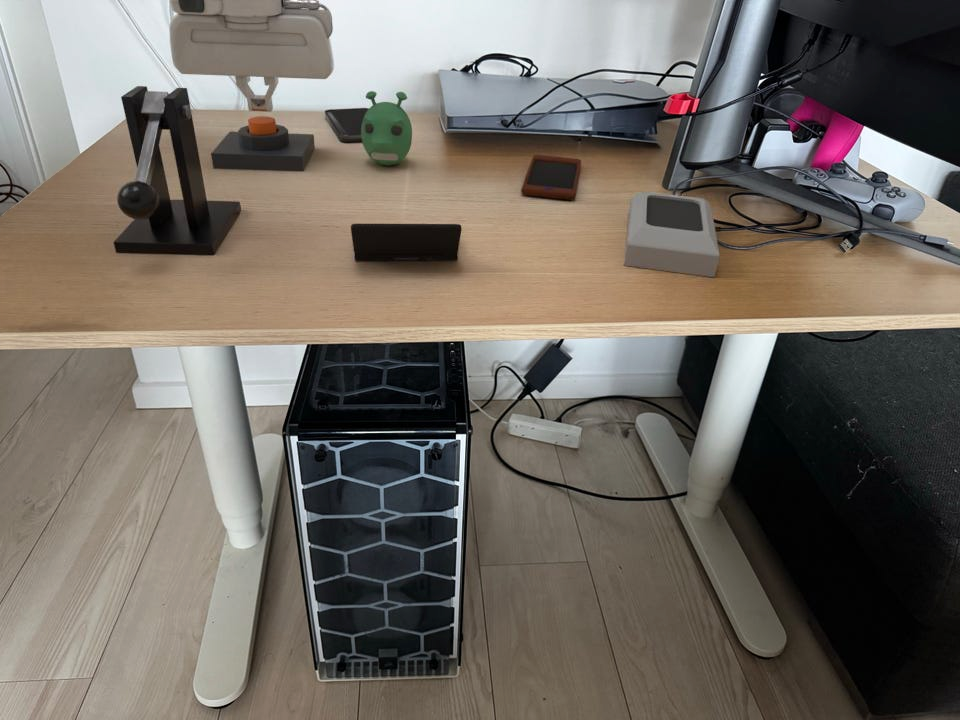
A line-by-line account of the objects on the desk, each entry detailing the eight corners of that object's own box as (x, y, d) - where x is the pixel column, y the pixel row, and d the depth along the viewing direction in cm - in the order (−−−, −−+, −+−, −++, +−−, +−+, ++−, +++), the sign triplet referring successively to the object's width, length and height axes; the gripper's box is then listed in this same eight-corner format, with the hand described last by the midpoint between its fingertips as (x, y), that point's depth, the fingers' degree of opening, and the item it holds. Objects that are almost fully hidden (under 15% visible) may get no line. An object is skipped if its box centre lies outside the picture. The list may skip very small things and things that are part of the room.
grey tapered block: (629, 233, 74) (633, 185, 87) (623, 265, 76) (628, 214, 89) (722, 245, 73) (713, 195, 85) (714, 277, 75) (706, 223, 87)
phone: (340, 136, 106) (323, 109, 117) (341, 143, 106) (324, 116, 118) (392, 133, 108) (370, 107, 120) (392, 140, 109) (370, 114, 120)
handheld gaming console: (447, 216, 81) (452, 167, 71) (463, 272, 79) (470, 230, 69) (348, 236, 79) (339, 189, 70) (362, 294, 77) (354, 253, 68)
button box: (213, 169, 95) (208, 139, 93) (231, 146, 103) (227, 118, 101) (303, 172, 96) (300, 142, 93) (314, 149, 104) (312, 121, 102)
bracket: (214, 255, 74) (187, 110, 66) (115, 252, 73) (76, 105, 65) (241, 210, 84) (221, 80, 75) (155, 208, 83) (125, 76, 75)
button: (246, 136, 96) (245, 123, 95) (252, 128, 99) (251, 115, 98) (273, 137, 96) (272, 124, 95) (279, 129, 99) (277, 116, 98)
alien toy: (356, 172, 97) (352, 96, 91) (368, 154, 103) (365, 83, 97) (407, 176, 96) (406, 100, 91) (416, 158, 103) (415, 86, 97)
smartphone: (520, 188, 91) (533, 153, 104) (520, 195, 92) (532, 159, 104) (575, 194, 90) (581, 158, 103) (574, 201, 91) (580, 164, 103)
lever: (161, 227, 68) (147, 205, 65) (122, 226, 68) (107, 204, 64) (184, 113, 74) (173, 87, 70) (149, 112, 73) (135, 85, 70)
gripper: (334, -4, 91) (341, 106, 99) (172, -11, 90) (192, 101, 98) (327, 3, 86) (335, 119, 94) (155, -4, 85) (178, 114, 93)
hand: (261, 110), depth 96 cm, fingers closed
